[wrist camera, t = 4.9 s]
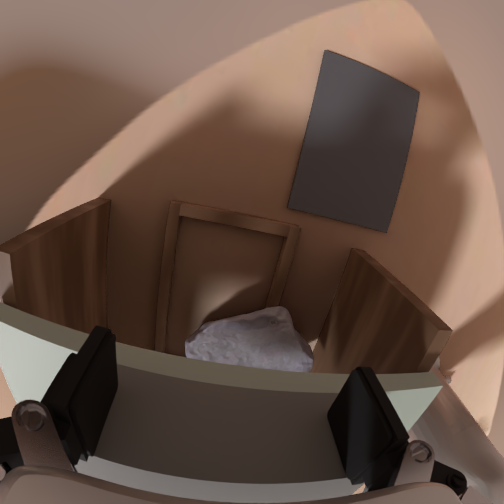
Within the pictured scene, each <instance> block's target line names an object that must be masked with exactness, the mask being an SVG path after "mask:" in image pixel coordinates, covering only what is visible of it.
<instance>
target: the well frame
mask: <svg viewBox="0 0 504 504" xmlns="http://www.w3.org/2000/svg"><path fill="white" fill-rule="evenodd" d="M110 203H111V200H107V199H101V198H96V199H94V200H91V201H89V202H87V203H84V204H82V205H80V206H77V207H75V208H73V209H71V210H68V211H66V212H64V213H62V214H60V215H58V216H55V217H53V218H51V219H49V220H47V221H45V222H43V223H41V224H39V225H37V226H35V227H33V228H31V229H29V230H27V231H25V232H23V233H21V234H19V235H17V236H16V237H14V238H12V239H10V240H8V241H6V242H5V243H3V244H1V245H0V299H1V303H4V304H6V305H8V306H11V307H13V308H16V309H18V310H21V311H23V312H26V313H28V314H31V315H34V316H36V317H39V318H42V319H44V320H47V321H50V322H53V323H56V324H59V325H62V326H65V327H68V328H71V329H74V330H77V331H80V332H84V333H87V334H90V333H91V331H92V330H93V328H94V327H95V326H96V325H98V326H102V327H105V328H107V313H106V261H107V239H108V225H109V213H110ZM181 216H185V217H190V218H195V219H201V220H206V221H211V222H216V223H221V224H226V225H231V226H236V227H241V228H246V229H251V230H256V231H261V232H266V233H271V234H276V235H280V236H285V238H284V241H283V245H282V249H281V252H280V256H279V260H278V263H277V267H276V271H275V274H274V278H273V281H272V285H271V288H270V292H269V296H268V299H267V303H266V306H265V308H270V307H276V306H279V303H280V300H281V296H282V293H283V290H284V286H285V283H286V280H287V276H288V273H289V269H290V266H291V263H292V259H293V256H294V252H295V249H296V245H297V242H298V238H299V235H300V231H301V228H300V227H299V226H297V225H293V224H288V223H284V222H279V221H275V220H270V219H265V218H261V217H256V216H251V215H246V214H241V213H236V212H231V211H226V210H221V209H216V208H211V207H206V206H201V205H195V204H190V203H185V202H179V201H174V200H172V201H171V202H170V206H169V212H168V219H167V225H166V233H165V240H164V248H163V256H162V264H161V273H160V283H159V294H158V305H157V318H156V334H155V351H157V352H162V353H165V340H166V328H167V317H168V307H169V298H170V289H171V280H172V272H173V265H174V257H175V250H176V243H177V236H178V230H179V223H180V217H181ZM452 331H453V330H452V329H451V328H450V327H449V326H448V325H447V324H445V323H444V322H443V321H442V320H441V319H440V318H439V317H438V316H437V315H436V314H435V313H434V312H433V311H432V310H431V309H430V308H429V307H428V306H427V305H425V304H424V303H423V302H422V301H421V300H420V299H419V298H418V297H417V296H416V295H415V294H413V293H412V292H411V291H410V290H409V289H408V288H407V287H406V286H405V285H403V284H402V283H401V282H400V281H399V280H398V279H397V278H396V277H394V276H393V275H392V274H391V273H390V272H389V271H387V270H386V269H385V268H384V267H383V266H382V265H380V264H379V263H378V262H377V261H376V260H375V259H373V258H372V257H371V256H370V255H369V254H367V253H366V252H365V251H363V250H359V249H354V248H352V250H351V253H350V256H349V259H348V262H347V265H346V268H345V270H344V273H343V276H342V279H341V282H340V285H339V287H338V290H337V293H336V295H335V298H334V301H333V303H332V306H331V309H330V311H329V314H328V316H327V319H326V321H325V324H324V326H323V329H322V331H321V334H320V336H319V339H318V341H317V343H316V346H315V348H314V350H313V356H314V364H313V367H312V369H311V371H310V372H309V373H329V374H350V373H351V371H352V370H355V368H356V367H371V368H372V369H373V371H374V373H375V374H403V373H422V372H429V371H430V369H431V368H432V366H433V365H434V363H435V361H436V360H437V358H438V356H439V355H440V353H441V351H442V350H443V348H444V346H445V344H446V342H447V341H448V339H449V337H450V335H451V333H452Z"/></svg>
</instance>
